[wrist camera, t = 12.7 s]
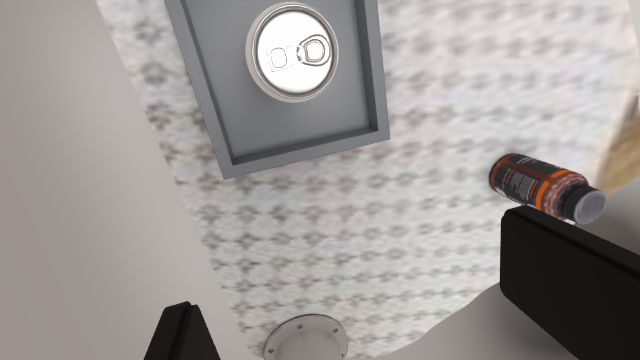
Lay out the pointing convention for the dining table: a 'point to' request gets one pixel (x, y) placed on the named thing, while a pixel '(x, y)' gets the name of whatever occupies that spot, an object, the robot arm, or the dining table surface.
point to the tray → (267, 112)
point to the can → (292, 52)
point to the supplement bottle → (547, 188)
